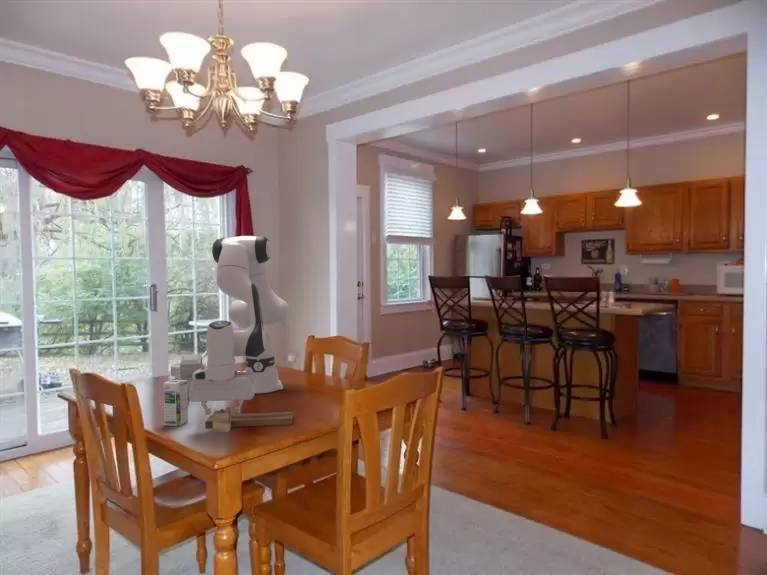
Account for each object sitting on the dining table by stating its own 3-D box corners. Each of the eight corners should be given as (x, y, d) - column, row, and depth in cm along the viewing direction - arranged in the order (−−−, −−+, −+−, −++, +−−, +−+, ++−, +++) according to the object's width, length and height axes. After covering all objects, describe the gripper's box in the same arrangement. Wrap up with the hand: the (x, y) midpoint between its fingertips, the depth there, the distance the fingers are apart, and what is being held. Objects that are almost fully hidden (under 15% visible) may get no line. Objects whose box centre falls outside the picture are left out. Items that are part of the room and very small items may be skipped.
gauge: (221, 420, 179) (220, 401, 179) (236, 420, 179) (235, 400, 179) (213, 432, 167) (212, 411, 166) (229, 431, 167) (228, 410, 167)
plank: (211, 420, 179) (211, 414, 179) (293, 417, 182) (293, 411, 182) (205, 427, 171) (205, 421, 171) (291, 424, 174) (291, 418, 174)
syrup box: (163, 425, 174) (162, 382, 173) (173, 420, 179) (172, 378, 179) (179, 426, 173) (178, 383, 172) (188, 421, 178) (187, 379, 178)
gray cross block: (184, 376, 251) (184, 359, 250) (212, 377, 247) (212, 361, 246) (163, 383, 236) (163, 366, 236) (193, 385, 232) (192, 367, 232)
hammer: (192, 386, 193) (201, 352, 221) (170, 387, 191) (182, 353, 219) (195, 422, 197) (203, 385, 225) (173, 423, 196) (184, 386, 223)
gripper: (255, 368, 172) (256, 409, 173) (192, 370, 170) (193, 411, 171) (252, 372, 166) (254, 415, 167) (186, 374, 164) (188, 417, 165)
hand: (222, 413), depth 169 cm, fingers open, 8 cm apart
